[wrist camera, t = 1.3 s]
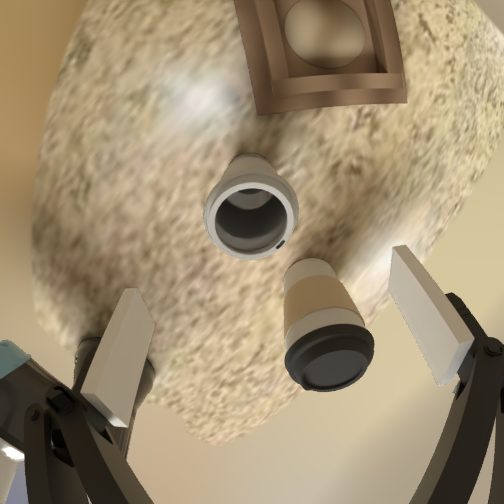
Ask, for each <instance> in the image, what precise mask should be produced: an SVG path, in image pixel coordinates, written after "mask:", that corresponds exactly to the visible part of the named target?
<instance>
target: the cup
mask: <svg viewBox="0 0 504 504" xmlns="http://www.w3.org/2000/svg"><path fill="white" fill-rule="evenodd" d="M298 211H299V207H298V200H297V197H296V194H295V192H294V190H293V188H292V187H291V186H290V184H289V183H288V182H287V181H286V180H285V179H284V178H282V177H281V176H279V175H278V174H277V173H276V171H275V170H274V169H273V167H272V166H271V165H270V164H269V163H268V162H267V161H266V160H265V159H264V158H263V157H262V156H260V155H258V154H254V153H244V154H241V155H239V156H237V157H236V158H234V159H233V160H232V161H231V163H230V164H229V167H228V168H227V169H226V171H225V172H224V174H223V176H222V178H221V180H220V182H219V183H218V184H217V185H216V186H215V187H214V188H213V189H212V191H211V192H210V194H209V196H208V198H207V200H206V203H205V206H204V213H203V219H204V225H205V229H206V232H207V234H208V236H209V238H210V239H211V241H212V242H213V243H214V244H215V245H216V246H217V247H218V248H219V249H220V250H222V251H223V252H224V253H226V254H228V255H230V256H232V257H234V258H238V259H243V260H257V259H262V258H265V257H267V256H270V255H272V254H273V253H275V252H277V251H278V250H279V249H280V248H282V247H283V246H284V244H285V243H286V242H287V241H288V239H289V237H290V236H291V234H292V232H293V230H294V228H295V225H296V222H297V219H298Z"/></svg>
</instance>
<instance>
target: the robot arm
mask: <svg viewBox="0 0 504 504" xmlns="http://www.w3.org/2000/svg"><path fill="white" fill-rule="evenodd" d="M388 291H389V292H390V294H391V296H392V298H393V299H394V301H395V303H396V305H397V306H398V308H399V310H400V312H401V314H402V316H403V317H404V319H405V321H406V323H407V324H408V327H409V329H410V330H411V332H412V334H413V336H414V338H415V340H416V342H417V344H418V346H419V348H420V350H421V352H422V354H423V356H424V358H425V360H426V362H427V364H428V366H429V368H430V370H431V372H432V374H433V377H434V379H435V381H436V383H437V385H438V386H441V385H444V384H446V383H449V382H451V381H453V379H454V378H455V376H456V374H457V373H458V375H459V377H460V381H459V382H458V384H457V386H456V387H455V389H454V391H453V393H455V392H456V393H455V397H454V400H453V403H452V406H451V409H450V412H449V415H448V418H447V421H446V424H445V427H444V429H443V432H442V434H441V437H440V440H439V442H438V445H437V447H436V450H435V452H434V454H433V457H432V459H431V461H430V463H429V466H428V468H427V470H426V472H425V474H424V476H423V478H422V480H421V483H420V484H419V486H418V489H417V490H416V492H415V494H414V496H413V498H412V499H411V501H410V503H409V504H467V503H468V501H469V499H470V496H471V494H472V491H473V489H474V486H475V484H476V481H477V478H478V476H479V473H480V470H481V467H482V464H483V461H484V458H485V455H486V452H487V448H488V445H489V441H490V437H491V433H492V430H493V426H494V421H495V417H496V436H495V454H494V465H493V474H492V481H491V488H490V494H489V500H488V504H504V344H502V343H501V342H500V341H499V340H498V339H496V338H493V337H488V336H487V335H486V333H485V332H484V330H483V329H482V328H481V326H480V325H479V323H478V322H477V320H476V319H475V317H474V316H473V315H472V314H471V312H470V311H469V309H468V308H466V305H465V304H464V302H463V301H462V300H461V298H459V297H458V296H456V295H455V294H454V293H448V294H444V293H443V292H442V290H441V289H440V288H439V286H438V285H437V284H436V282H435V281H434V280H433V279H432V277H431V276H430V274H429V273H428V272H427V271H426V269H425V268H424V267H423V265H422V264H421V263H420V262H419V260H418V259H417V258H416V257H415V256H414V254H413V253H412V252H411V251H410V249H409V248H408V247H407V246H406V245H401V246H395V247H393V248H392V259H391V269H390V278H389V286H388ZM155 326H156V325H155V323H154V321H153V319H152V317H151V315H150V313H149V311H148V309H147V307H146V305H145V303H144V301H143V299H142V296H141V294H140V292H139V290H138V288H137V287H135V288H128V289H125V290H124V292H123V294H122V296H121V298H120V300H119V302H118V304H117V306H116V308H115V311H114V313H113V315H112V317H111V319H110V321H109V324H108V326H107V328H106V330H105V332H104V335H103V337H102V338H98V337H97V338H89V339H86V340H84V341H83V342H82V343H81V344H80V346H79V348H78V350H77V352H76V355H75V369H74V384H73V387H72V389H70V388H68V387H67V386H66V385H64V384H63V383H62V382H60V381H59V380H58V379H56V378H55V377H54V376H52V375H51V374H50V373H49V372H47V371H46V370H45V369H44V368H43V367H41V366H40V365H39V364H38V363H37V362H36V361H34V360H33V359H32V358H31V355H29V354H26V353H25V352H24V351H23V350H22V349H20V348H19V347H18V346H17V345H16V344H14V343H13V342H11V341H9V340H2V341H1V342H0V504H5V502H6V499H7V495H8V492H9V489H10V486H11V483H12V481H13V478H14V475H15V472H16V470H17V467H18V464H19V462H20V461H23V460H24V461H25V476H26V486H27V494H28V502H29V504H89V502H88V498H87V495H88V497H89V499H90V501H91V503H92V504H154V503H153V501H152V500H151V499H150V497H149V496H148V494H147V493H146V491H145V490H144V488H143V487H142V485H141V484H140V482H139V481H138V479H137V478H136V476H135V474H134V473H133V471H132V470H131V468H130V466H129V465H128V463H127V461H126V459H127V453H128V449H129V444H130V439H131V434H132V429H133V424H134V420H135V415H136V411H137V409H138V408H139V407H140V405H141V403H142V402H143V401H144V399H145V397H146V396H147V394H148V393H149V392H150V391H151V389H152V386H153V382H154V378H155V373H154V370H153V368H152V366H151V364H150V363H149V362H148V361H147V359H146V356H147V353H148V349H149V346H150V342H151V339H152V336H153V332H154V329H155ZM86 493H87V494H86Z"/></svg>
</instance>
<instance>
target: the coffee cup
mask: <svg viewBox="0 0 504 504" xmlns="http://www.w3.org/2000/svg"><path fill="white" fill-rule="evenodd" d="M284 344H285V348H286V356H285V367H286V369H287V371H288V372H289V375H290V376H291V378H292V379H293V380H294V381H295V382H297V383H298V384H300V385H302V387H303V388H304V389H305V390H313V391H317V392H330V391H336V390H340V389H343V388H345V387H348V386H350V385H351V384H353V383H355V382H356V381H357V380H359V379H360V378H361V377H362V376H363V374H364V373H365V371H366V369H367V367H368V366H369V364H370V363H371V361H372V358H373V354H374V339H373V336H372V334H371V333H370V332H369V331H368V330H367V329H366V328H365V323H364V320H363V318H362V316H361V315H360V313H359V311H358V309H357V308H356V306H355V304H354V302H353V301H352V299H351V297H350V296H349V294H348V292H347V290H346V289H345V287H344V285H343V284H342V283H341V282H340V281H339V279H338V277H337V275H336V274H335V272H334V270H333V268H332V267H331V266H330V265H329V264H328V263H327V262H326V261H324V260H321V259H317V258H307V259H303V260H300V261H298V262H296V263H295V264H293V265H292V266H291V267H290V268H289V269H288V271H287V272H286V274H285V277H284Z"/></svg>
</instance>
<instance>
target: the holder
mask: <svg viewBox="0 0 504 504" xmlns="http://www.w3.org/2000/svg"><path fill="white" fill-rule="evenodd" d="M234 4H235V8H236V12H237V17H238V21H239V26H240V30H241V35H242V40H243V44H244V49H245V54H246V58H247V63H248V68H249V73H250V78H251V83H252V88H253V93H254V98H255V103H256V108H257V113H258V116H262V115H268V114H274V113H281V112H288V111H296V110H304V109H313V108H322V107H333V106H346V105H362V104H391V103H407V93H406V84H405V76H404V68H403V62H402V55H401V49H400V43H399V38H398V33H397V28H396V23H395V18H394V14H393V10H392V6H391V2H390V0H234Z"/></svg>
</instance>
